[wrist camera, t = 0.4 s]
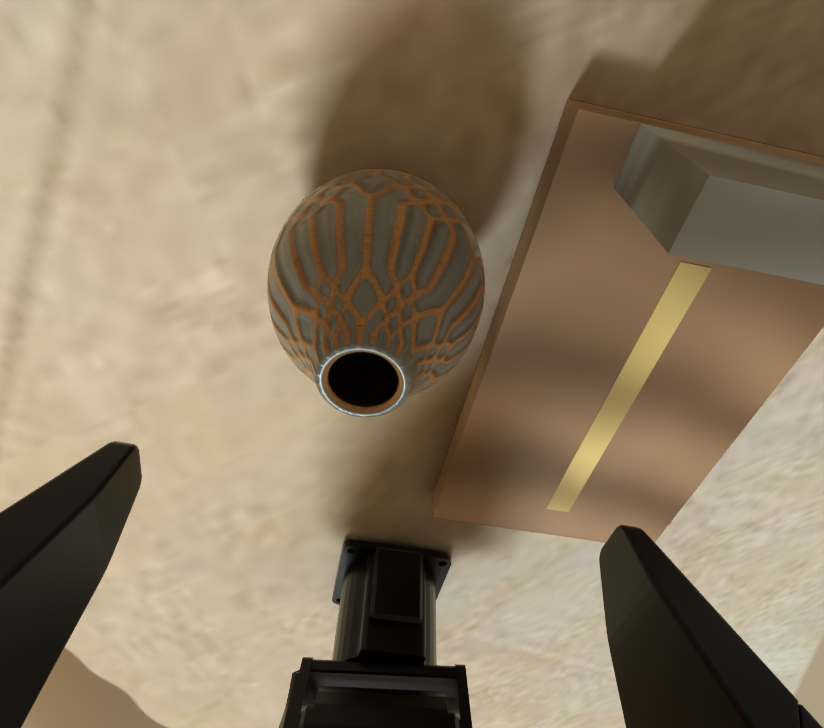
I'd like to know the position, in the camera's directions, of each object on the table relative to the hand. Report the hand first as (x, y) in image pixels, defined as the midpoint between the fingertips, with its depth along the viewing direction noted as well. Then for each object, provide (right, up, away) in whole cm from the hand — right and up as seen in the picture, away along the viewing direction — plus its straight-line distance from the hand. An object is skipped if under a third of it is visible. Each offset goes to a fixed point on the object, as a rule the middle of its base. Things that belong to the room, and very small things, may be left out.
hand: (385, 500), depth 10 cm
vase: (-1, +7, +11) cm, 13 cm away
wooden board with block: (+9, +2, +14) cm, 17 cm away
